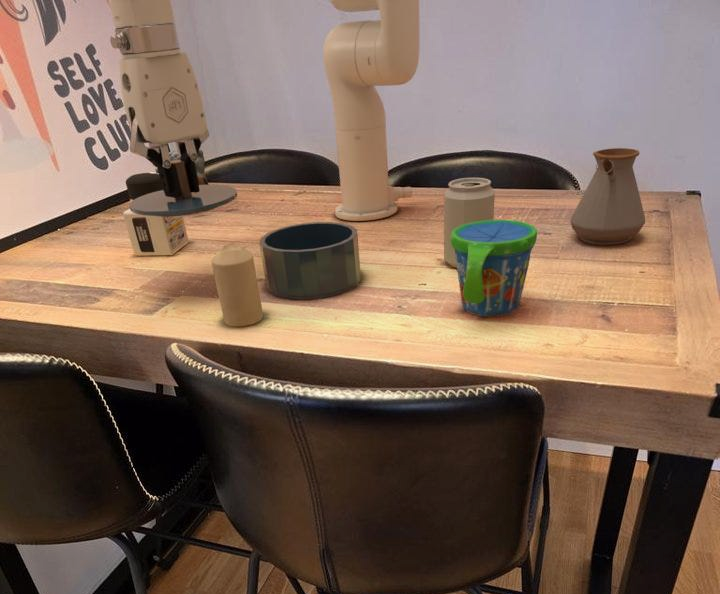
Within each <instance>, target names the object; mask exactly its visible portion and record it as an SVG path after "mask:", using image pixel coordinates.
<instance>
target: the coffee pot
mask: <svg viewBox="0 0 720 594" xmlns="http://www.w3.org/2000/svg"><path fill="white" fill-rule="evenodd" d="M639 155H640V150H638V149H635V148H628V147H627V148H625V147H613V148H605V149H600V150H596V151H593V153H592V156H593V157H594V158H595V161H596V165H595V172H594V174H593V175H592V178H591V179H590V181H589V183H588V185H587V187H586V189H585V191H584V192H583V194H582V197H580V200H579V202H578V204H577V206H576V207H575V209H574V211H573V213H572V215H571V218H570V225H571V228H572V229H573V231H574V232H575V234H576V235H577V236H579V237H580V239H581V241H583V242H585V243H588V244H593V245H601V246H610V245H619V244H620V245H621V244H623V243H626V242H628V241H629V240H631V238H632V237H634V236H636V235H637V234H638V233H639V232H640V231H641V230H642V229H643V227H644V226H645V224H646V216H645V212H644V207H643V203H642V199H641V195H640V191H639V187H638V183H637V179H636V175H635V171H634V163H635V161H636V159H637V157H638V156H639Z"/></svg>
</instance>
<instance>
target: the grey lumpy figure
mask: <svg viewBox="0 0 720 594" xmlns="http://www.w3.org/2000/svg"><path fill="white" fill-rule="evenodd" d="M169 156H170V161H172V160H180V157H179V154H178V150H177V149H173V150H171V151H169ZM197 157H198V158H197V161H196V162H195V167H196V171H197V176H198V184H199V185H210V183H209V182H208V180H207V177H206V172H205V171H206V169H205V167H206V166H205V157H204V151H203V150H202V149H201V148H200V149H199V151H198V153H197ZM155 173H158V174H159V172H158V168H157V167H156V168H155Z"/></svg>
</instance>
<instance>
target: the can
mask: <svg viewBox="0 0 720 594" xmlns="http://www.w3.org/2000/svg"><path fill="white" fill-rule="evenodd" d="M491 184H492V180H490V179H489V178H484V177H462V178H457V179H454V180H451V181H449V182H448V184H447V186H448V189H447V190H446V191H445V192H444V194H443V260H444V261H445V262H446V263H448V265H449V266H450V267H452V268H456V269H457V263H456V255H455V250H454V248H453V247H452V244H451V242H450V238H451V236H452V231H453V230H454V229H455V228H457V227H459V226H461V225H464V224H467V223H471V222H477V221H484V220H495V218H494V217H495V198H496V197H495V195H496V191H495V190H494V188H493V187H492V186H491Z"/></svg>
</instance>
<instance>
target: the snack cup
mask: <svg viewBox="0 0 720 594" xmlns="http://www.w3.org/2000/svg"><path fill="white" fill-rule="evenodd" d="M537 238H538V231H537V228H536V227H535V226H534V225H532V224H530V223H527V222H526V221H525V222H524V221H520V220H514V219H513V220H512V219H494V220H484V221H477V222H471V223H467V224H464V225H461V226H459V227H457V228H455V229H454V230H453V231H452V236H451V238H450V242H451V244H452V247H453V248H454V250H455V255H456V263H457V268H456V270H457V278H458V285H459V292H460V300H461V304H462V309H463V310H464V311H467V312H468V313H470V314H472V315H475V316H479V317H482V318H484V317H499V316H504V315H511V314H512V313H513V312H514V311H516V310H517V309H518V308H519V305H520V302H521V299H522V297H523V290H524V287H525V283H526V278H527V273H528V270H529V266H530V265H529V264H530V259H531V253H532V250H533V248H534V247H535V245H536V242H537Z"/></svg>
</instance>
